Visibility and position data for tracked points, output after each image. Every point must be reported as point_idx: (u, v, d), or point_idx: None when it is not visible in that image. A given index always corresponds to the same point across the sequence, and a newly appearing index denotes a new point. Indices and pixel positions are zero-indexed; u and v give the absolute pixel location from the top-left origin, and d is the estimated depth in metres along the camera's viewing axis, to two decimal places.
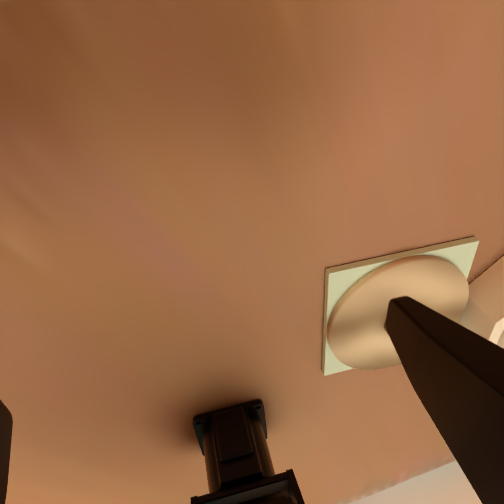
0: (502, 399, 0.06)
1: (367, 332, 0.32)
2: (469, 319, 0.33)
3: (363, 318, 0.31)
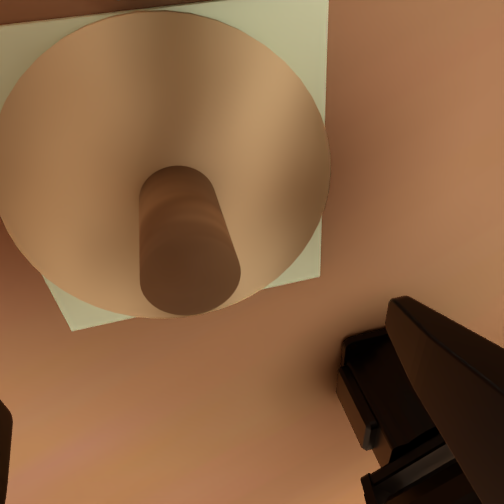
0: (502, 399, 0.06)
1: None
2: None
3: None
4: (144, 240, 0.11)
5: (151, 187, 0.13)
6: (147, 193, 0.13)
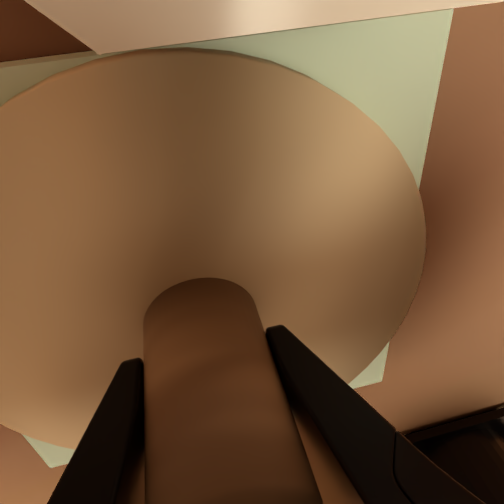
0: (328, 448, 0.06)
1: None
2: None
3: None
4: (153, 458, 0.06)
5: (163, 321, 0.08)
6: (156, 332, 0.08)
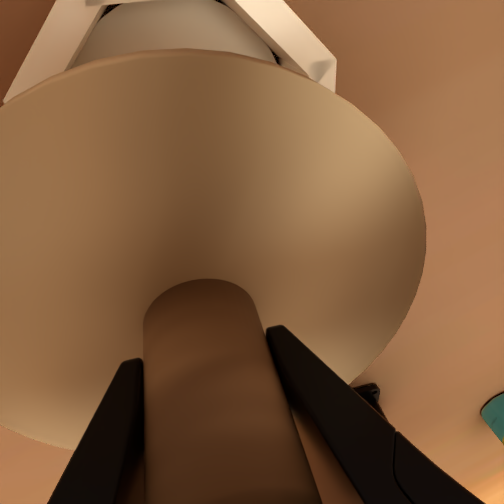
0: (328, 448, 0.06)
1: None
2: None
3: None
4: (153, 459, 0.06)
5: (162, 323, 0.08)
6: (156, 333, 0.08)
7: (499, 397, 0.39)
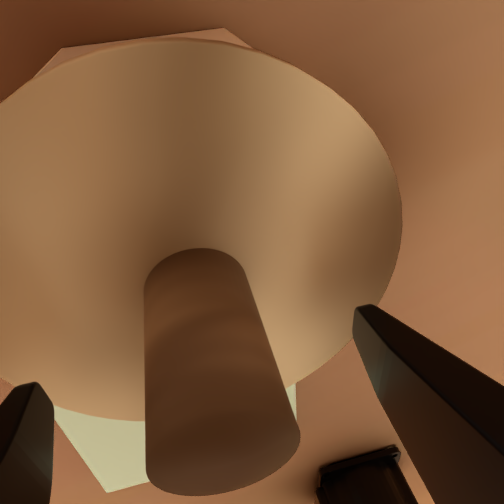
0: (454, 413, 0.06)
1: None
2: None
3: None
4: (153, 394, 0.07)
5: (161, 285, 0.09)
6: (156, 294, 0.09)
7: None
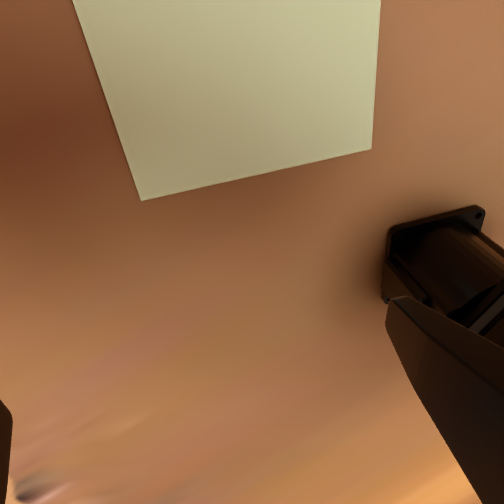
0: (502, 399, 0.06)
1: None
2: None
3: None
4: None
5: None
6: None
7: None
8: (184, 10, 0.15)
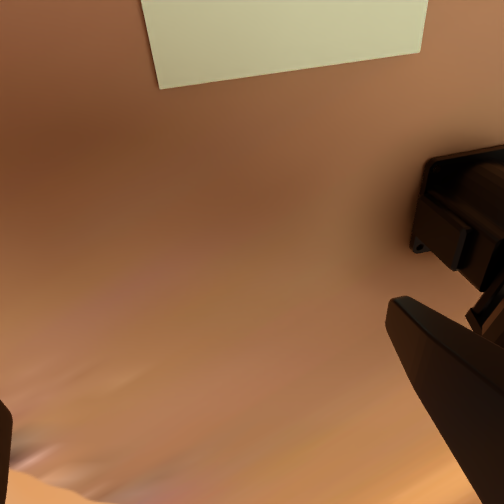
0: (502, 399, 0.06)
1: None
2: None
3: None
4: None
5: None
6: None
7: None
8: None
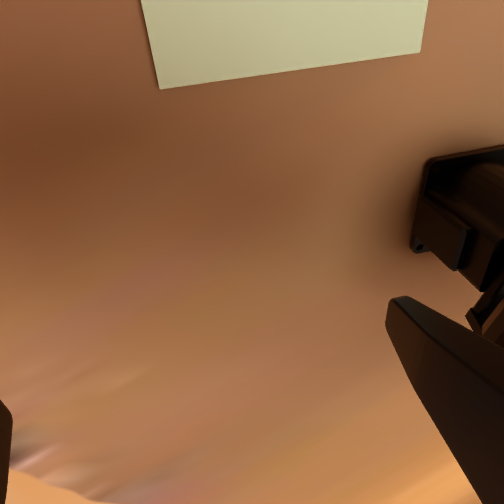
0: (502, 399, 0.06)
1: None
2: None
3: None
4: None
5: None
6: None
7: None
8: None
